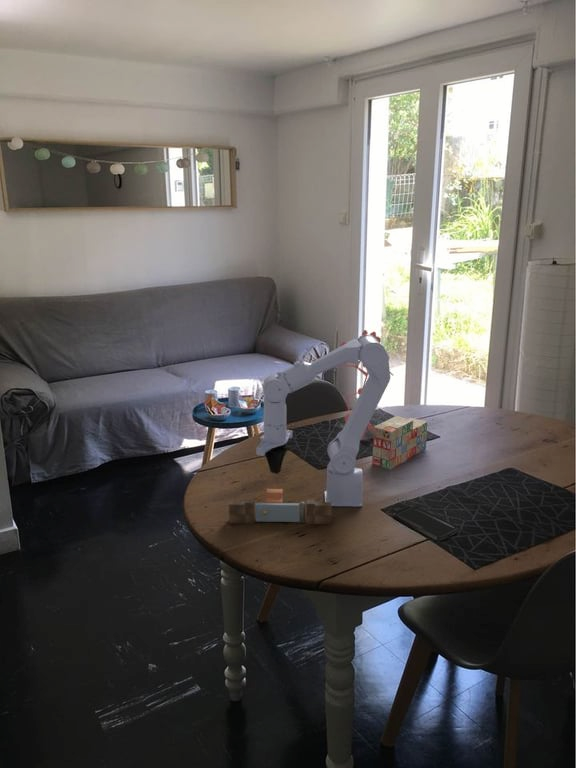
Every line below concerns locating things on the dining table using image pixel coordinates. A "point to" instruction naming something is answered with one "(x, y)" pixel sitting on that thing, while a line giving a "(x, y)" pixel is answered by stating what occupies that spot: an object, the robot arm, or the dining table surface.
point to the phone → (425, 522)
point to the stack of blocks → (398, 441)
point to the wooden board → (245, 512)
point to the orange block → (274, 496)
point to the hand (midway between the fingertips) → (275, 472)
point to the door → (280, 512)
